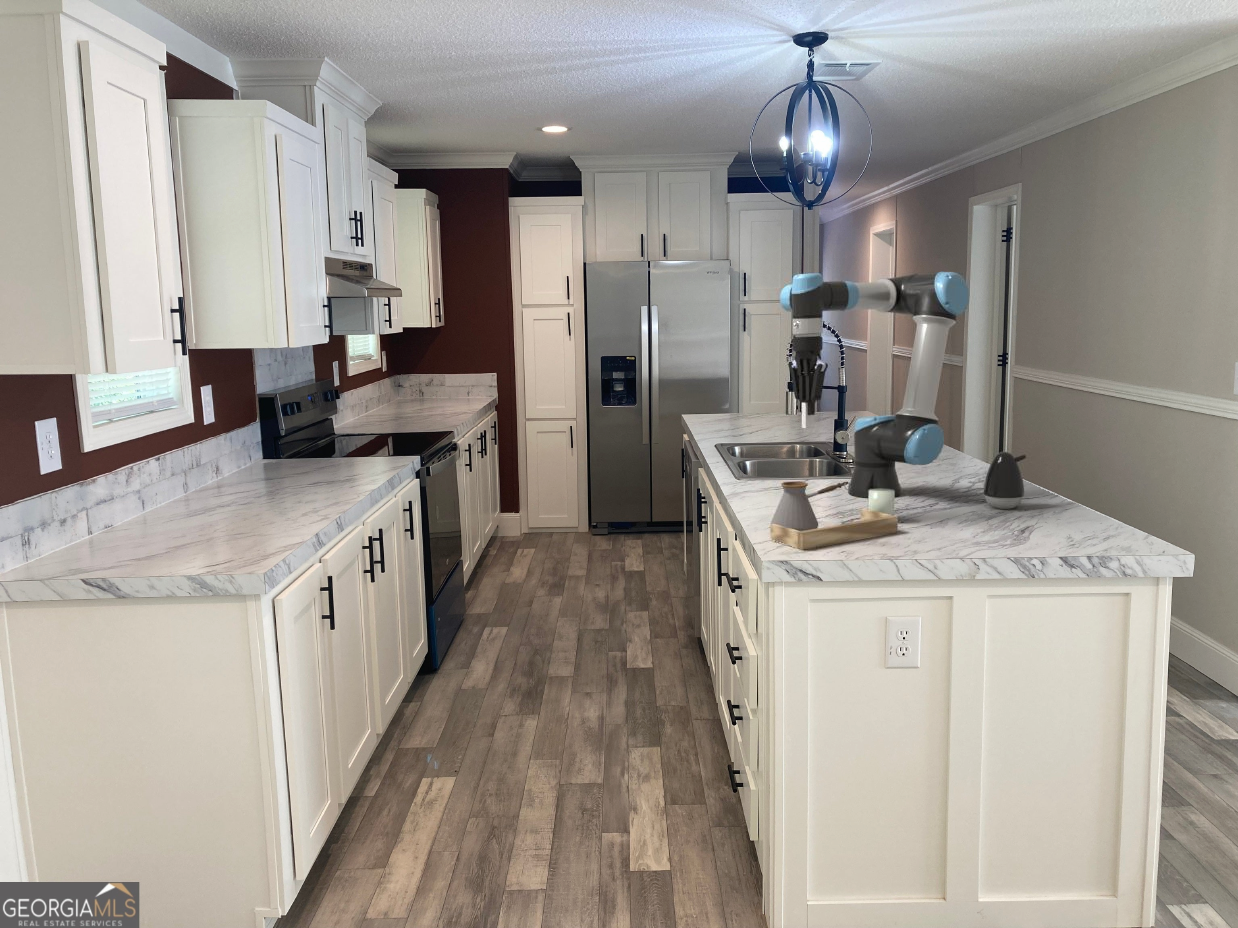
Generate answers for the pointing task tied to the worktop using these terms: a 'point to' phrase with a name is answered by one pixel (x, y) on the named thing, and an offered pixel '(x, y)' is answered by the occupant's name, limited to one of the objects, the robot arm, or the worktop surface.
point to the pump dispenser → (1004, 481)
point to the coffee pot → (798, 506)
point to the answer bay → (837, 531)
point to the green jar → (882, 500)
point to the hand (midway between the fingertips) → (807, 427)
